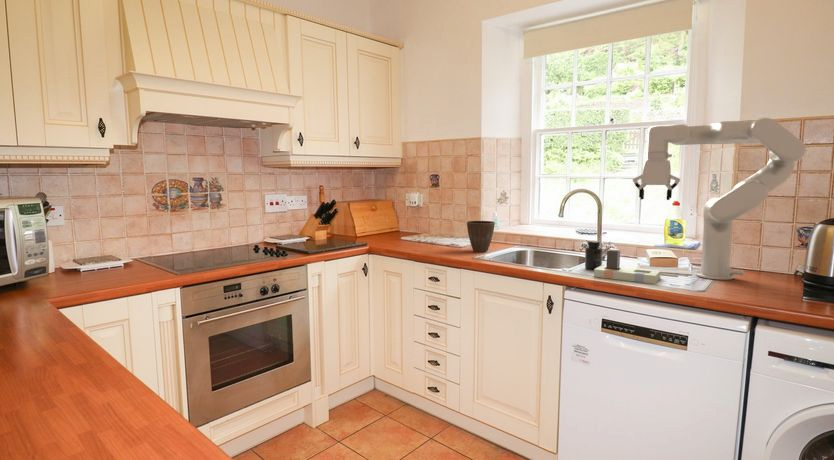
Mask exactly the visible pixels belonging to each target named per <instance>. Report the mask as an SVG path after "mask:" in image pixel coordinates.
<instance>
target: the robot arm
mask: <svg viewBox="0 0 834 460" xmlns="http://www.w3.org/2000/svg"><path fill="white" fill-rule="evenodd" d="M670 143H671V144H672V145H676V146H684V145H685V146H686V145H689V146H691V145H732V144H761V145H762V146H763V147H765V148H766V149H767V150H769V152H768V156H769V159H768V162H767V164H766V165H765V166H763V167H762V168H761V169H759V170H758V171H757V172H755V173H754V174H752V175H750V176H748V177H747V178H745V179H743V180H741V181H740V182H738V183H737V184H735V185H734V186H733V188H732V189H731V190H730V191H729V192H727V193H725V194H723V195H722V196H715V197H712V198H709V200H708V201H706V203H705V205H704V207H703V230H702V231H703V232H702V235H703V236H702V245H701V246H702V250H701V261H700V270H699V271H696V273H695V275H696V276H697V277H699V278H703V279H709V280H716V281H717V280H718V281H719V280H720V281H721V280H723V281H728V280H733V279H734V275H736V276H744V270H743V269H742V270H741V269H734V268H732V266H731V250H732V238H733V237H732V236H733V221H735V220H737V219H739V218H740V217H742V216H743V215H745V214H747V213H749V212H750V211H752V210H754V209H755V208H757V207H759V206H761V205H762V204H763V203H764V202H765V201H766V200H767V198H768V195H769V193H770V192H772V191H774V190H776V189H777V188H778V187H780V186H781V185H783V184H784V183H785V182H787V180H788V179H789V178H790V177H791V176H792V173H793V171H794V170H795V166H796V162H799V161H800V160H801V159H803V158H804V156H805V154H806V153H807V152H806V151H807V148H806V145H805V143H804V142H803V141H802V140H801V139H800V138H799V137H797V135H795V134H794V133H793V132H791V131H789V130H788V129H787V128H786V127H784V126H783V125H782V124H780V123H779V122H778V121H777V120H774V119H773V118H770V117H761V118H758V119H753V120H750V119H749V120H747V119H746V120H731V121H730V120H729V121H728V120H727V121H725V120H724V121H718V122H714V123H709V124H703V125H688V124H684V123H679V124H678V123H677V124H673V125H653V126H649V128H648V131H647V145H646V160H644V162H643V168H642V174H641V175H638V176H636V177H634V178H633V179H632V182H633V184H634V186H635V187H636V188H637V189H638V191H639V192H638V193H639V194H638V198H640V200H644V199H645V198H644V197H645V190H644V188H645V187H646V186H665V187H667V190H666V200H667V201H670V199H672V194H673V189H675V188H676V187H677V186H678V184H679V183H680V182H681V178H679V177H677V176H676V175H673V174H672V173H671V171H672V169H671V162H670V160H669V159H670V158H672V157H673V154H672V153H669V144H670ZM639 180H641V184H640V183H639ZM671 180H674V183H673V184H672V185H671Z"/></svg>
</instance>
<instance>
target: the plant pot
mask: <svg viewBox="0 0 834 460" xmlns="http://www.w3.org/2000/svg"><path fill="white" fill-rule="evenodd" d="M495 224H496V222H495V221H491V220H469V221H466V227H467V234H468V238H469V242H470V245H471V248H472V252H474V251H476V252H475V253H477V252H485V253H487V252H488V251H489V248H490V245H491V243H492V239H493V236H494V230H495ZM486 251H487V252H486Z"/></svg>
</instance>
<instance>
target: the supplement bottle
mask: <svg viewBox="0 0 834 460" xmlns="http://www.w3.org/2000/svg"><path fill="white" fill-rule="evenodd" d="M600 246H601V242H600V241H597V240H588V241H587V247H586V248H585V249H584V250H585V253H584V268H585V269H586V270H589V271H594V269H596V268H597V267H599V266H601V265H603V250H602V248H601V247H600Z"/></svg>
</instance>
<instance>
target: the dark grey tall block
mask: <svg viewBox="0 0 834 460" xmlns="http://www.w3.org/2000/svg"><path fill="white" fill-rule="evenodd" d="M620 261H621V250H620V249H619V248H611V247H610V248H608V250H606V264H605V265H606V269H613V270H619V267H621V265H620V263H621V262H620Z"/></svg>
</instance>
